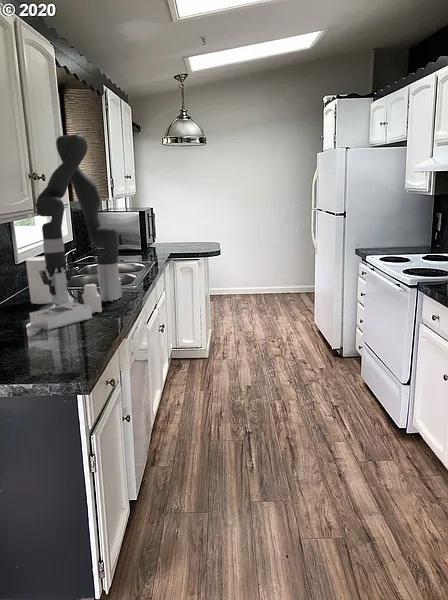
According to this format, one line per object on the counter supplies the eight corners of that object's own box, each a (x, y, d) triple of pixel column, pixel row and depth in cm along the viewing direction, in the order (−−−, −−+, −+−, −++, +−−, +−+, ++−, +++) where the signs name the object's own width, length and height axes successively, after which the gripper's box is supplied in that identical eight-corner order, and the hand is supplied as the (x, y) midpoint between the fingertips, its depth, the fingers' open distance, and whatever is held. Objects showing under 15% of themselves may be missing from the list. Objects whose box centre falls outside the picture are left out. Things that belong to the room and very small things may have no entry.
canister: (24, 303, 235) (19, 260, 230) (41, 296, 248) (36, 255, 243) (51, 304, 232) (46, 260, 227) (66, 297, 244) (62, 256, 240)
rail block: (74, 313, 213) (73, 302, 212) (92, 318, 206) (90, 305, 205) (30, 325, 198) (29, 312, 197) (48, 330, 191) (46, 317, 190)
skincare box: (69, 303, 200) (66, 272, 197) (58, 305, 197) (55, 274, 194) (61, 300, 204) (58, 271, 201) (50, 303, 201) (47, 272, 198)
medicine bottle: (82, 310, 219) (80, 283, 216) (99, 308, 221) (97, 281, 219) (84, 314, 212) (81, 286, 210) (102, 312, 215) (99, 284, 212)
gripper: (64, 247, 203) (68, 289, 207) (31, 252, 192) (37, 296, 197) (75, 248, 199) (80, 291, 203) (43, 253, 188) (48, 298, 192)
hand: (58, 293), depth 200 cm, fingers closed on skincare box, 4 cm apart
